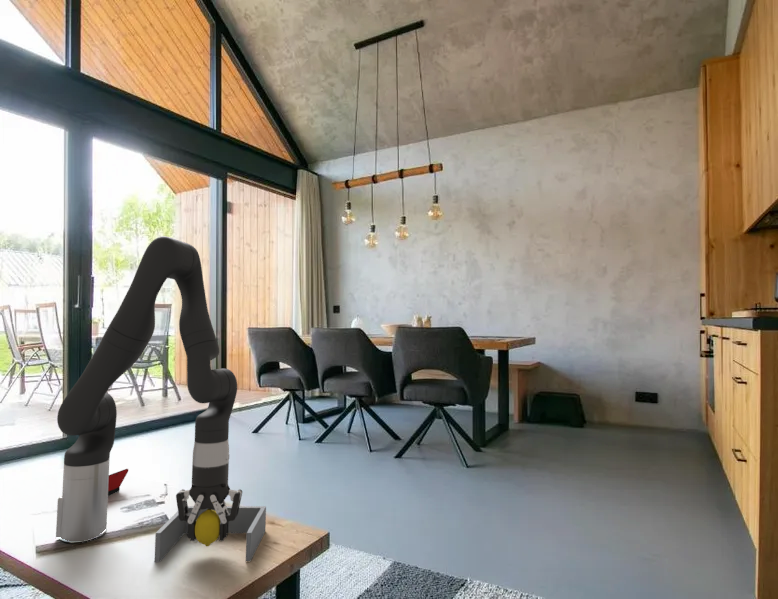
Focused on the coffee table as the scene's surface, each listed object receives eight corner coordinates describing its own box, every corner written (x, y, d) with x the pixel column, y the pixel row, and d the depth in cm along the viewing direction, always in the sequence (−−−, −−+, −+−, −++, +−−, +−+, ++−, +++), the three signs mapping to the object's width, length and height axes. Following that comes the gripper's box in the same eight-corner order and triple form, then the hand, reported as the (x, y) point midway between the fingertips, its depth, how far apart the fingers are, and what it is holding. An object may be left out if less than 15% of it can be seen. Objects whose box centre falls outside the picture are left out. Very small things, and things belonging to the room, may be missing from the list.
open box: (154, 562, 102) (155, 533, 102) (181, 531, 117) (182, 506, 117) (250, 561, 103) (251, 532, 103) (265, 531, 118) (266, 506, 118)
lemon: (212, 553, 102) (213, 514, 102) (188, 550, 103) (190, 512, 104) (226, 541, 108) (227, 505, 108) (203, 539, 109) (204, 503, 109)
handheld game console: (100, 489, 146) (101, 464, 146) (129, 493, 143) (130, 467, 143) (61, 504, 134) (62, 476, 134) (92, 508, 131) (93, 480, 131)
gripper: (170, 465, 102) (167, 547, 101) (239, 465, 103) (237, 547, 102) (183, 456, 110) (180, 532, 109) (248, 456, 110) (245, 531, 110)
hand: (208, 539), depth 105 cm, fingers closed on lemon, 5 cm apart
